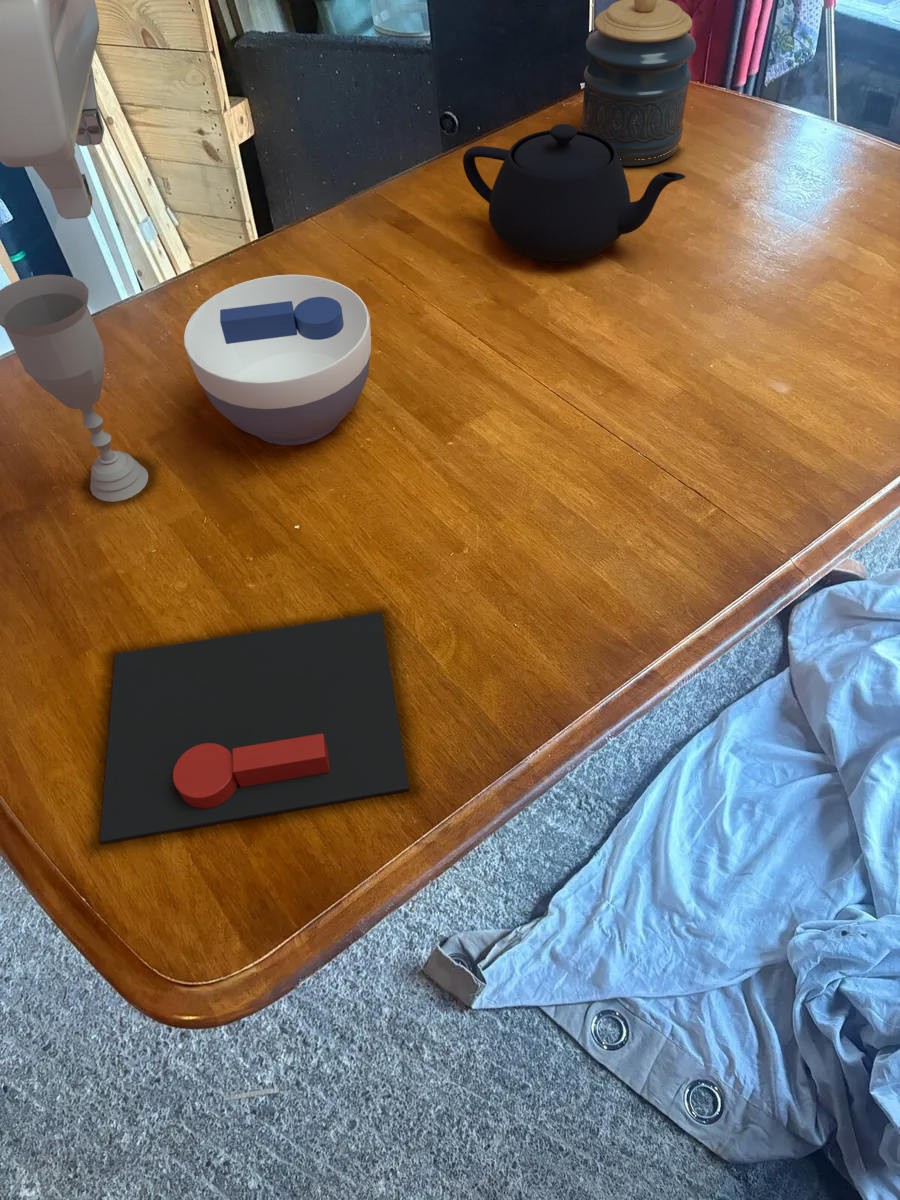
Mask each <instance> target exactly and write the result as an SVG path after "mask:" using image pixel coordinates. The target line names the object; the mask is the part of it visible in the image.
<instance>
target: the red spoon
mask: <svg viewBox="0 0 900 1200" xmlns="http://www.w3.org/2000/svg"><path fill="white" fill-rule="evenodd" d="M232 754H233V756H232ZM232 754H231V753H230V752H229V750H228V749H226V748H225V747H223V746H221V745H218V744H214V743H205V744H200V745H197V746H194V747H192V748H191V749H189V750H188V751H186V752H185V753H184V754H183V755H182V756H181V757H180V758H179V760H178V761H177V763H176V765H175V767H174V771H173V781H174V784H175V786H176V788H177V790H178V791H179V793H180V795H181V796H182V798H183V799H184V801H185V802H186V803H188V804H189V805H191V806H193V807H196V808H212V807H215V806H218V805H220V804H222V803H223V802H225V801H226V800H228V799H229V798H230V797H231V796H232V794H233V793H234V792H235V790H236V788H237V786H238V784H239V786H240V787H246V786H252V785H258V784H264V783H270V782H275V781H281V780H287V779H293V778H299V777H305V776H311V775H317V774H322V773H328V772H330V765H329V755H328V748H327V745H326V741H325V738H324V734H316V735H310V736H304V737H298V738H292V739H286V740H280V741H274V742H268V743H262V744H256V745H250V746H244V747H238V748H233V750H232Z"/></svg>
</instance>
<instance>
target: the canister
mask: <svg viewBox="0 0 900 1200" xmlns="http://www.w3.org/2000/svg"><path fill="white" fill-rule="evenodd" d="M594 26H595V28H596V30H595V31H594V32H593V33H591V34H590V35H589V36H588V37H587V39H586V42H585V49H586V51H587V53H588V54H589V58H588V64H587V66H586V67H585V68H584V71H583V79H584V85H583V86H584V87H583V88H584V89H583V102H582V111H581V112H582V113H581V120H580V123H579V131H583V132H588V133H592V134H595V135H597V136H600V137H602V138H604V139H606V140H607V141H608V142H610V143H611V144H612V145H613V146H614V148H615V149H616V151H617V153H618V156H619V159H621V160H620V162H621V164H622V167H640V166H648V165H653V164H656V163H660V162H663V161H665V160H667V159H669V158H670V157H672V156H673V155H674V154H675V153H676V152H677V151H678V148H679V144H680V142H681V140H682V137H683V131H684V123H683V121H684V116H685V115H684V114H685V108H686V102H687V96H688V90H689V84H690V82H691V80H692V72H691V70H690V68H689V67H690V66H689V65H690V58H691V57H692V56H693V54H694V53H695V51H696V49H697V42H696V40H695V38H694V37H693V35H691V33H689V32H690V31H691V29H692V26H693V19H692V17H691V16H690V15H689V13H687V12H686V11H684V10H683V9H682V8H681V7H680V5H679V4H677V3H675V2H673V1H671V0H618V1H616V2H613V3H612V4H610V5H609V7H607V8H606V9H604V10H603V11H601V12H600V13H599V14H598V15H597V16H596V17H595V19H594ZM678 143H679V144H678ZM676 146H677V147H676ZM675 147H676V148H675ZM673 148H675V149H674V150H672V149H673ZM670 150H672V151H671V152H669V151H670ZM667 152H669V153H667ZM665 153H667V154H665ZM663 154H665V155H663ZM660 155H662V156H660ZM658 156H659V157H658ZM654 157H656V158H654ZM648 158H651V159H648ZM635 159H636V160H635ZM638 159H640V160H638ZM641 159H645V160H641Z"/></svg>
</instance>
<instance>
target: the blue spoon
mask: <svg viewBox="0 0 900 1200" xmlns="http://www.w3.org/2000/svg"><path fill="white" fill-rule="evenodd" d="M220 323H221V327H222V331H223V334H224V338H225V342H226V344H231V343H239V342H246V341H254V340H262V339H270V338H278V337H286V336H294V335H297V331H298V333H299V334H300V335H301V336H303V337H305V338H307V339H312V340H322V339H327V338H331V337H333V336H335V335H337V334H338V333H339V332H340V331H341V330H342V328H343V326H344V321H343V315H342V308H341V305H340V304H339V302H338V301H336V300H334V299H332V298H329V297H313V298H309V299H306V300H304V301H302V302H301V303H299V304H298V305H297V306H296V308H295V310H294V309H293V304H292V301H287V302H279V303H270V304H262V305H254V306H246V307H238V308H230V309H222V310H220Z"/></svg>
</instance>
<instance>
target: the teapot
mask: <svg viewBox="0 0 900 1200" xmlns="http://www.w3.org/2000/svg"><path fill="white" fill-rule="evenodd" d="M476 158H484V159H485V158H486V159H492V160H498V161H503V162H502V164H501V166H500V168H499V171H498V173H497V174H496V175H497V176H496V177H495V181H494V183H493V186H492V188H491V187H490V186H489V185H488V184H487V183H486V182H485V181H484V179H483V178H482V176H481V174H480V172H479V169H478V167H477V165H476ZM462 166H463V170H464V173H465V175H466V178H467V180H468V182H469V183H470V185H471V186H472V188H473V189H474V190H475V192H476V193H477V194H478V195H479V196H480V197H481V198H483V200H485V202H487V203H488V220H489V222H490V226H491V228H492V230H493V232H494V234H495V235H496V236H497V237H498V239H499V240H500V241H501V242H502V243H504V244H505V245H506V246H507V247H509V248H510V249H511V250H512V251H513V252H515V253H516V254H518V255H519V256H521V257H523V258H526V259H528V260H531V261H533V262H538V263H543V264H551V265H552V264H554V265H562V264H563V265H564V264H575V263H578V262H582V261H585V260H588V259H591V258H593V257H594V256H596V255H598V254H600V253H602V251H604V250H606V249H607V248H608V247H610V246H611V245H612V244H614V243H615V242H616V241H617V240H618V239H619V238H620V237H621V236H622V235H626V234H630V233H632V232H634V231H636V230H638V229H639V228H640V227H641V226H643V225H644V224H645V222H646V221H647V220H648V218H649V217H650V215H651V214H652V211H653V210H654V207H655V205H656V202H657V200H658V199H659V196H660V194H661V193H662V191H663V190H664V189H665V188H666V187H667V186H668V185H670V184H672V183H674V182H677V181H680V180H684V179H685V178H686V175H685V174H683V173H681V172H680V173H679V172H674V171H663V172H660V173H658V174H656V175H655V176H654V177H653V178H652V179H651V180H650V181H649V183H648V185H647V186H646V188H645V191H644V193H643V195H642V196H641V198H639V199H638V200H636V201H631V195H630V188H629V184H628V181H627V177H626V174H625V171H624V168H623V167H624V166H622V164H621V162H620V159H619V156H618V153H617V151H616V149H615V148H614V146H613V145H612V144H611V143H610V142H608V141H607V140H606V139H604V138H602V137H600V136H597V135H595V134H592V133H588V132H583V131H580V130H578V128H577V127H576V126H574V125H573V124H568V123H559V124H555V125H553V126H552V127H551V128H550V129H549V130H548V129H547V130H543V131H542V130H541V131H538V132H534V133H531V134H527V135H526V136H523V137H522V138H520V139H519V140H517V141H516V142H515V143H513V145H512V146H511V147H510V148H509V149H507V148H500V147H495V146H486V145H477V146H476V145H475V146H471V147H469V148H468V149H467V150H466V151H465V152H464V154H463V156H462Z"/></svg>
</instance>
